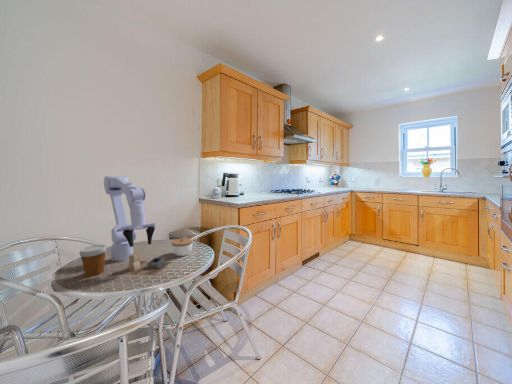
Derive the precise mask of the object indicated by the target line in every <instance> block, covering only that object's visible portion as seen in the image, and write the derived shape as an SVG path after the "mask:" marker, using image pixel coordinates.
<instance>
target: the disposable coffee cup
mask: <svg viewBox="0 0 512 384" xmlns="http://www.w3.org/2000/svg"><path fill="white" fill-rule="evenodd" d="M107 249H108V248H107V247H106V245H104V244H98V245H97V244H96V245H90V246H86V247H84V248H81V249H80V252H79V253H78V254H79V256H80V257H81V258H80V259H81V262H82V266H83V270H84V275H85V277H89V278H90V277H97V276H99V275H101V274H103V273H104V271H105V261H106V252H107Z"/></svg>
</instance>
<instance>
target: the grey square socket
mask: <svg viewBox="0 0 512 384" xmlns="http://www.w3.org/2000/svg"><path fill="white" fill-rule="evenodd" d="M148 261H149V262H148V263H147V266H146V267H145V269H160V268H162V267H163V266H164V265H165V264H166V263H167V262H168V261H165V257H154V258H153V259H151V260H148Z"/></svg>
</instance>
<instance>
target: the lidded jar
mask: <svg viewBox="0 0 512 384" xmlns="http://www.w3.org/2000/svg"><path fill="white" fill-rule="evenodd" d="M171 249H172V253H173V254H174V255H175V256H177V257H184V256H187V255H189V254H190V253H191V252H192V249H193V239H191V238H185V237H181V238H178V239H177V238H176V239H175V240H172V241H171Z"/></svg>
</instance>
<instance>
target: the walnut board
mask: <svg viewBox="0 0 512 384" xmlns="http://www.w3.org/2000/svg"><path fill="white" fill-rule="evenodd" d="M149 261H150V260H140V267H139V268H138V269H137V270H135V271H129V265H128V266H126V267H125V268H123V269H121V270H120V271H118V272H116V274H117V275H150V276H153V275H154V276H157V275H159V274H160V272H162V271H163V270H164V269H165V268H166V267H168V265H169V264H171V263H172V261H166V262H167V263H166V264H165V265H164V266H163V267H162V268H160V269H145V267H146V266H147V263H148V262H149Z"/></svg>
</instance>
